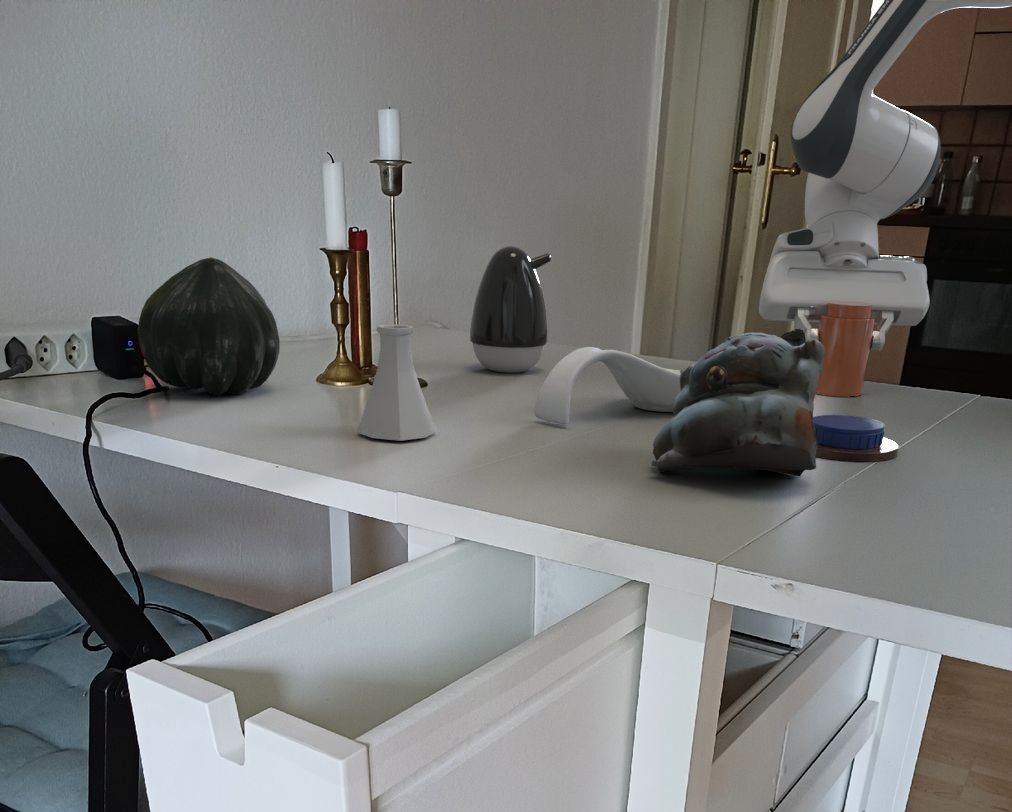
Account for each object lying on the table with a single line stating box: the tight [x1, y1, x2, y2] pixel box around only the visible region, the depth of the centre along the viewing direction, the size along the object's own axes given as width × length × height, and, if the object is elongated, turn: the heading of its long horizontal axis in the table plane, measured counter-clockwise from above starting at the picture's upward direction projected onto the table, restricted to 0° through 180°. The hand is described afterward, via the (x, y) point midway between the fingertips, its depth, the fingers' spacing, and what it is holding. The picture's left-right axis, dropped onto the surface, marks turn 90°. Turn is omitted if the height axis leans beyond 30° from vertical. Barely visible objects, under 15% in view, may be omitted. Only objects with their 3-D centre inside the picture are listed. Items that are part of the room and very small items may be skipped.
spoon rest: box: [534, 346, 681, 425], centre depth 109 cm, size 24×12×7 cm, turn 131°
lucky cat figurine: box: [651, 328, 825, 477], centre depth 87 cm, size 15×12×14 cm
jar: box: [815, 301, 875, 398], centre depth 124 cm, size 6×6×10 cm
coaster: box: [815, 437, 899, 463], centre depth 98 cm, size 10×10×1 cm
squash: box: [137, 256, 281, 396], centre depth 113 cm, size 14×15×15 cm
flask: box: [356, 323, 437, 442], centre depth 96 cm, size 7×7×10 cm
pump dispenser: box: [469, 245, 552, 374], centre depth 132 cm, size 10×10×15 cm
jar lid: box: [813, 414, 885, 449], centre depth 97 cm, size 7×7×2 cm
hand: (843, 346), depth 124 cm, fingers closed on jar, 6 cm apart
